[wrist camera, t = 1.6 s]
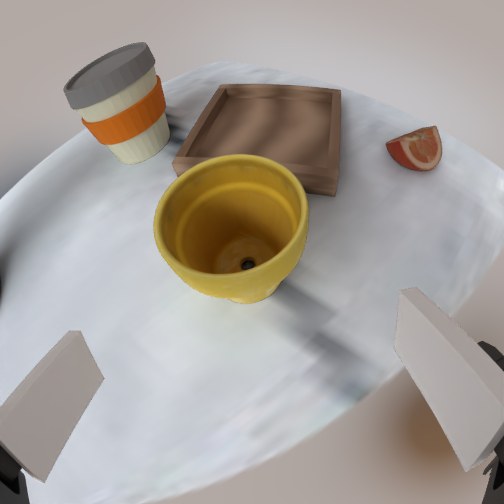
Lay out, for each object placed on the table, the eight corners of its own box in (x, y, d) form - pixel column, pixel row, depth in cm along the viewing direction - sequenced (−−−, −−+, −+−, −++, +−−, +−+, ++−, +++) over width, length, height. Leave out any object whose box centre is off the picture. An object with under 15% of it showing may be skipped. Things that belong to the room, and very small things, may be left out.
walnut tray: (179, 180, 33) (171, 164, 30) (224, 99, 41) (220, 84, 38) (334, 196, 29) (338, 178, 26) (339, 106, 37) (340, 90, 34)
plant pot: (256, 205, 30) (242, 133, 21) (326, 272, 25) (343, 209, 16) (176, 264, 28) (130, 207, 19) (237, 346, 23) (204, 319, 14)
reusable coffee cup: (193, 116, 39) (166, 34, 26) (160, 173, 34) (111, 79, 21) (131, 122, 42) (98, 54, 29) (95, 174, 37) (45, 102, 24)
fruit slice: (411, 138, 32) (419, 111, 28) (444, 169, 29) (457, 142, 25) (372, 154, 31) (379, 124, 27) (408, 190, 28) (421, 161, 24)
